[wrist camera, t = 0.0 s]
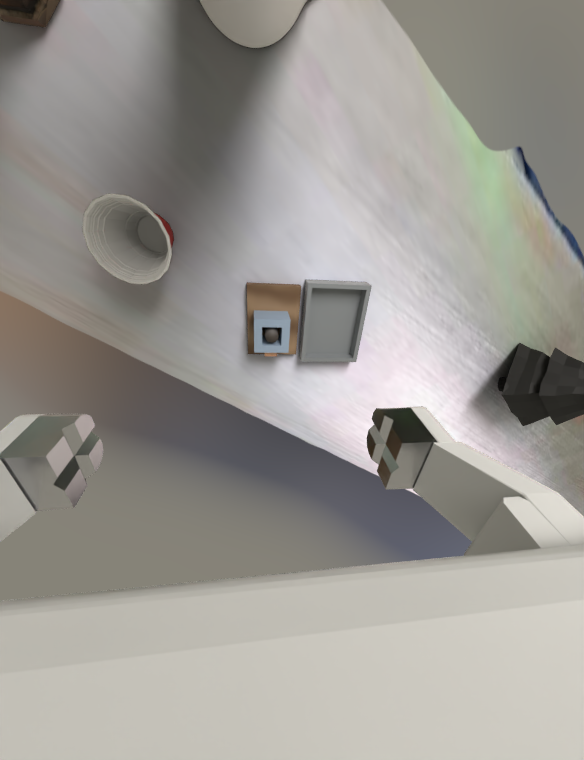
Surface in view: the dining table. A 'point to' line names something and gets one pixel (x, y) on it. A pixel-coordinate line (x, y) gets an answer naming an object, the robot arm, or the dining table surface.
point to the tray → (333, 320)
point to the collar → (271, 320)
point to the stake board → (273, 300)
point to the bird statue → (27, 11)
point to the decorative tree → (544, 386)
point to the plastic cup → (128, 238)
